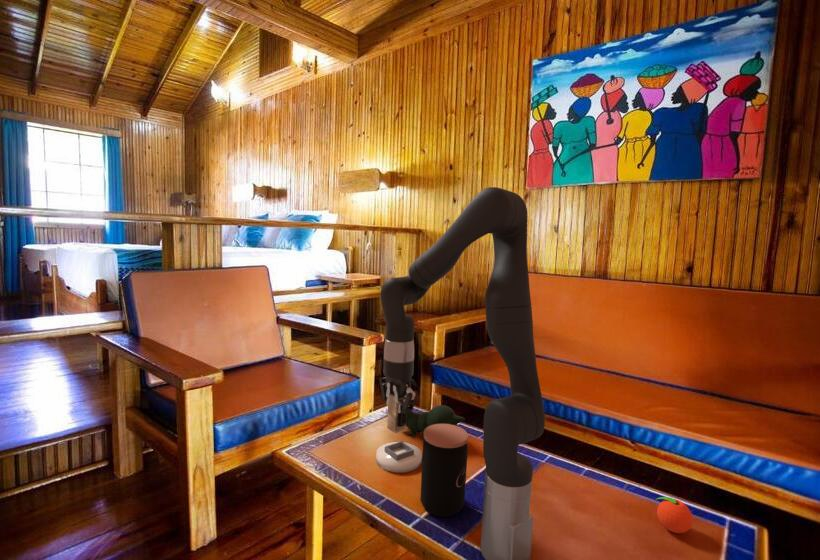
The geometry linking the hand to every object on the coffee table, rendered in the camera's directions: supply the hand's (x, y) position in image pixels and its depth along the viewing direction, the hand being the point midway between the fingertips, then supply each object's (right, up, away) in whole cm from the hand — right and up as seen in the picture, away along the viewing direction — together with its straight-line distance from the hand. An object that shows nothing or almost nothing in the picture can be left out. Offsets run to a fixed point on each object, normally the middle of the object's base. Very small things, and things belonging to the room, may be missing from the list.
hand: (396, 422), depth 110 cm
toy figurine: (+9, -14, +29) cm, 34 cm away
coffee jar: (+11, -18, -5) cm, 22 cm away
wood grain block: (0, -2, 0) cm, 2 cm away
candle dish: (0, -15, +14) cm, 21 cm away
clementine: (+63, -21, -10) cm, 67 cm away
